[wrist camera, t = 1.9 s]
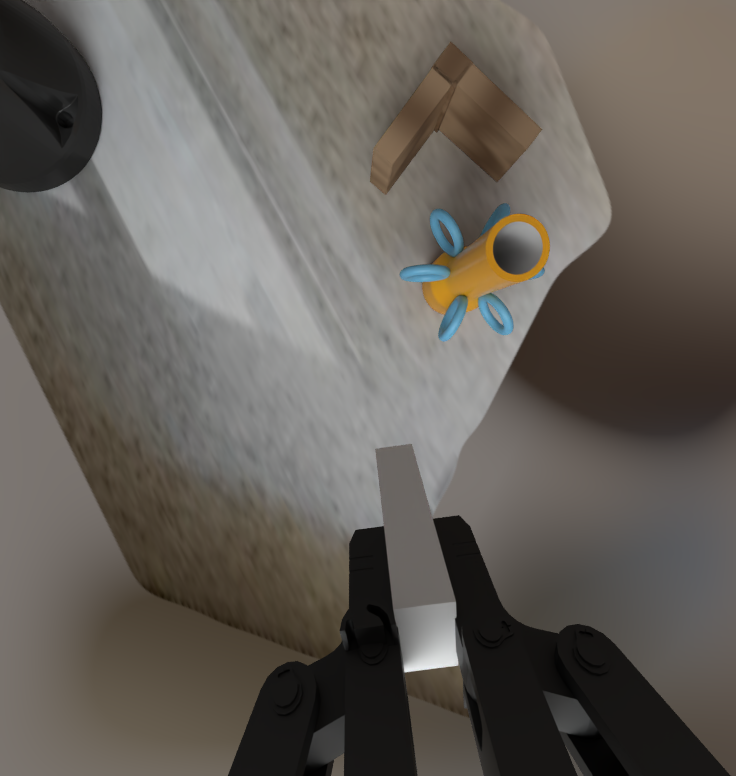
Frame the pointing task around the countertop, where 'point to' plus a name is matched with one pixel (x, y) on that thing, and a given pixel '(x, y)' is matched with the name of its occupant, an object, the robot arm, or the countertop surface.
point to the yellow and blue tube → (480, 267)
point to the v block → (455, 121)
